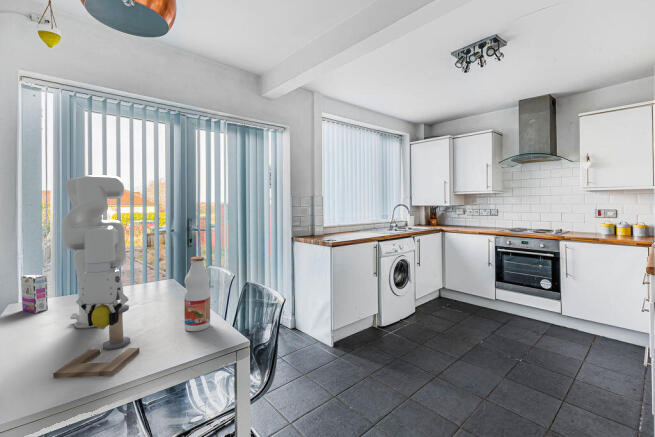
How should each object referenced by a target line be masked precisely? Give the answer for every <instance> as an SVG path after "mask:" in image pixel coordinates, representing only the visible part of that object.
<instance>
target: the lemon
mask: <svg viewBox="0 0 655 437" xmlns="http://www.w3.org/2000/svg"><path fill="white" fill-rule="evenodd" d="M109 313H111V310H110V308H109V306H108V305H104V304H101V305H100V306H98V307H96V308H95V309H94V311H93V313H92V323H93V325H94V326H96V327H95V328H99V329H101V330H104V329H106V327H109V325H110V323H109Z"/></svg>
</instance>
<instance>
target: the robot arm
mask: <svg viewBox="0 0 655 437" xmlns="http://www.w3.org/2000/svg"><path fill="white" fill-rule="evenodd" d="M65 190H66V191H65V192H66V194H67V197H68V199H69V201H70V202H71V205H72V207H73V208H72V209H70V211H68V213H66V215H65V216H64V218H63V220H62V224H61V236H62V244H63V246H64V248H65V249H66V250H68V251H75V252H74V254H73V260H72V261H73V263H74V268H75V273H76V281H77V299H76V302H75V303H76V304H77V305H78V312H73V313H71V316H70V318H69V319H70V320H76V321H75V322H74V327H75V328H77V329H90V328H97V327H96V326H94V325H93V323H92V313H93V311H94V309H95V308H96V307H98V306H100V305H101V304H104V305H108V306H109V308H110V310H111V313H109V323H110V325H114V324H116V323H117V322H118V320H119V313H118V310H119V309H120V308H121V307H122V306H123V305H124V304H127V302H128V301H129V297H127V296H126V295H125V294H124V287H123V280H122V277H121V276H122V275H121V273H120V270H119V269H117V268H121V267H124V266H125V264H126V261H127V252H126V251H127V250H126V238H125V237H126V235H125V227H124V225H123V223H122V222H121V221H119V220H115V219H110V220H109V219H108V220H107V219H105V220H103V215H105V213H107V211H108V210H109V204H108V203H109V202H108V200H117V199H121V198H122V197H123V196H124V193H125V186H124V183H123V180H122V179H121V178H120V177H119V176H114V175H113V176H111V175H89V174H88V175H83V176H81V177H72V178H69V179H66V182H65ZM119 300H120V301H119Z"/></svg>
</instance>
